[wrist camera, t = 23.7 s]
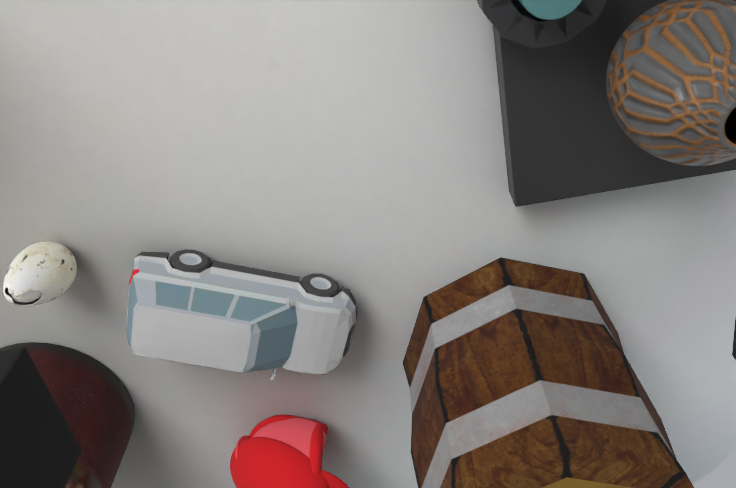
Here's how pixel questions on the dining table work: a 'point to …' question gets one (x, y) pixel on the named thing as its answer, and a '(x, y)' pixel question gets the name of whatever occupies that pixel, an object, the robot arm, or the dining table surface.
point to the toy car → (236, 315)
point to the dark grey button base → (569, 104)
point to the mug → (529, 388)
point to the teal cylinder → (550, 8)
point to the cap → (283, 455)
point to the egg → (39, 274)
